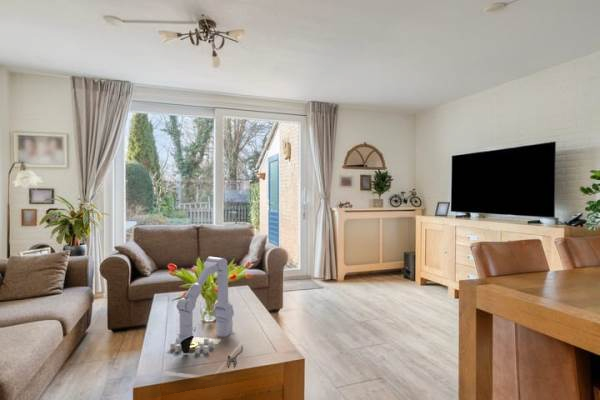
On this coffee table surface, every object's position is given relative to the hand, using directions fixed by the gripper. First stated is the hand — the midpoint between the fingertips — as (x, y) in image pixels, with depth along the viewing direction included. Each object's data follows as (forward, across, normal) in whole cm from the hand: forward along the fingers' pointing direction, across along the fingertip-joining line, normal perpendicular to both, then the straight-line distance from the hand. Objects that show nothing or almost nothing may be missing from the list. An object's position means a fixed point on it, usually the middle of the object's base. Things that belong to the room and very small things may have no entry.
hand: (185, 352), depth 151 cm
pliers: (+3, -6, +22) cm, 23 cm away
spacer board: (+2, -9, 0) cm, 9 cm away
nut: (+1, -6, 0) cm, 6 cm away
